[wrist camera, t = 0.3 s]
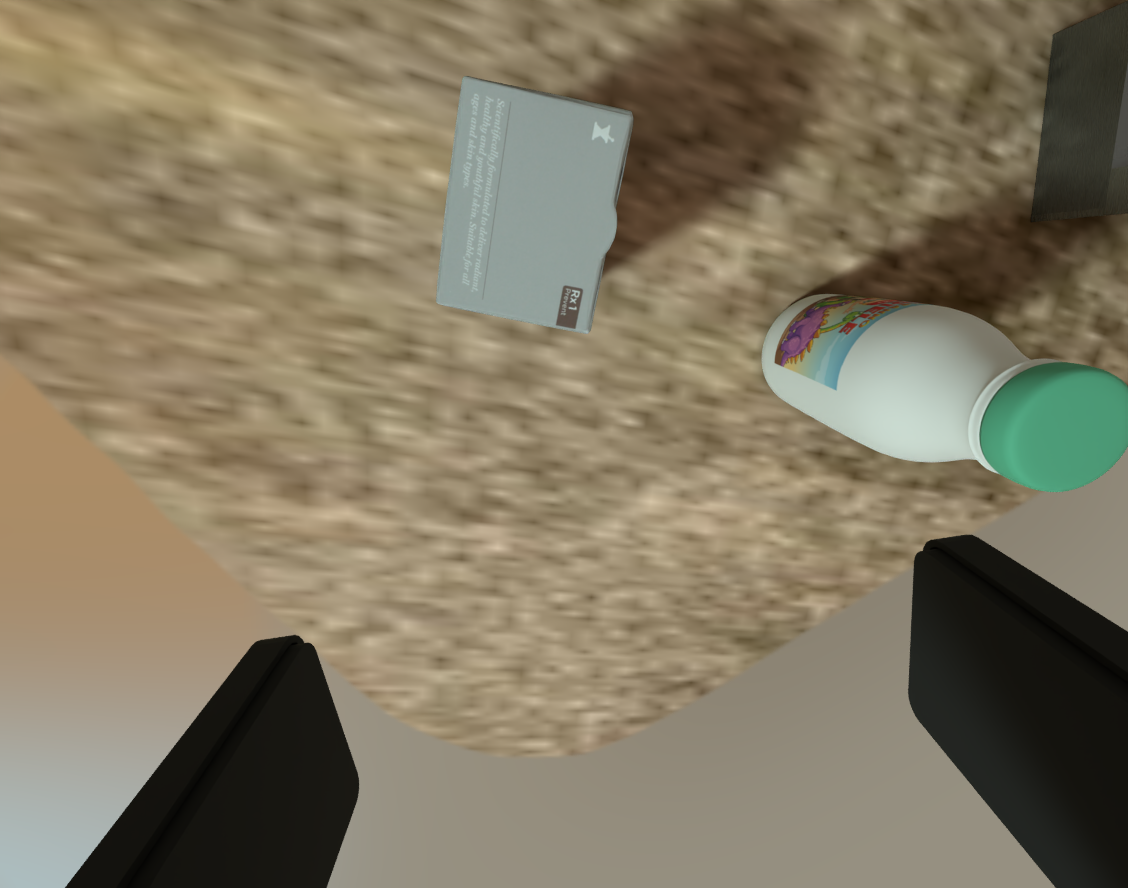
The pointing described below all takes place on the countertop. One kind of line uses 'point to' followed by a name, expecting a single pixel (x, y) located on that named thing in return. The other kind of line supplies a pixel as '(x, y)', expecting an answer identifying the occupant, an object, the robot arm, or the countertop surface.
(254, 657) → the robot arm
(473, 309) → the skincare box
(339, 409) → the countertop surface
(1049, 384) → the milk bottle
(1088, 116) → the bracket
